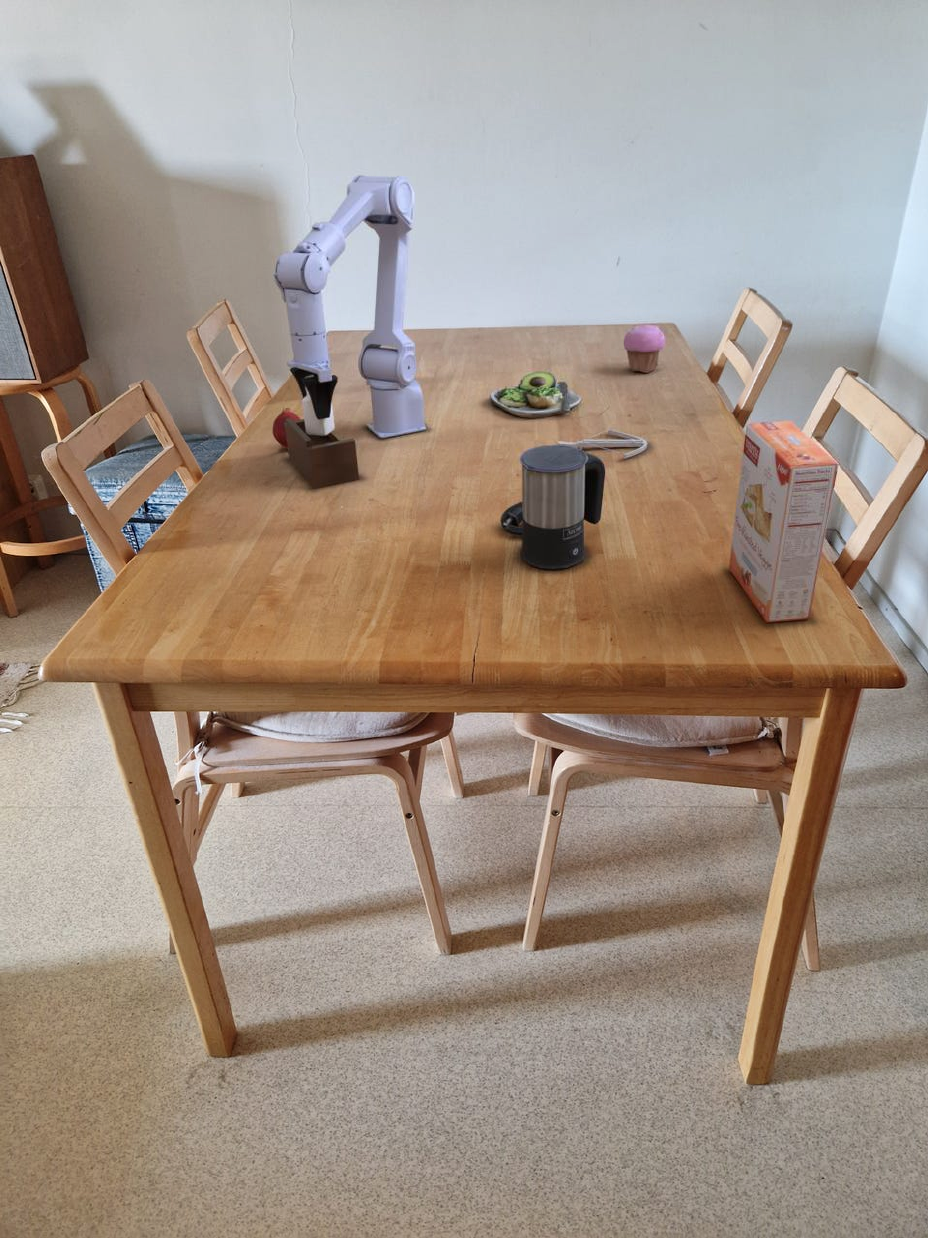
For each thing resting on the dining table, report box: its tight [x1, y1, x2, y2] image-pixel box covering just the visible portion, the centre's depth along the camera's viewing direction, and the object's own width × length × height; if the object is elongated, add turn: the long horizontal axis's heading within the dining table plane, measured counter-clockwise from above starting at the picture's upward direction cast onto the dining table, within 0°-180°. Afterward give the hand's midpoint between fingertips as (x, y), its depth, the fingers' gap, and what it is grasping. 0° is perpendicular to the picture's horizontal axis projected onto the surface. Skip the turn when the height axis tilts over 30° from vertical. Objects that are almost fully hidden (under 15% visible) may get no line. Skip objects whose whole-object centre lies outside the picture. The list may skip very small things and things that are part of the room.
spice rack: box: [284, 418, 360, 490], centre depth 155 cm, size 8×15×8 cm, turn 25°
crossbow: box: [557, 428, 648, 460], centre depth 160 cm, size 16×13×2 cm
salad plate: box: [489, 371, 581, 419], centre depth 180 cm, size 19×18×5 cm
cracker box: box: [728, 420, 839, 624], centre depth 110 cm, size 14×6×21 cm, turn 5°
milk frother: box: [500, 444, 606, 570], centre depth 126 cm, size 14×16×15 cm
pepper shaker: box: [301, 375, 335, 436], centre depth 151 cm, size 4×4×10 cm
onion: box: [272, 406, 302, 449], centre depth 164 cm, size 6×6×8 cm
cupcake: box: [623, 324, 666, 374], centre depth 196 cm, size 9×9×10 cm
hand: (318, 413), depth 152 cm, fingers closed on pepper shaker, 5 cm apart
